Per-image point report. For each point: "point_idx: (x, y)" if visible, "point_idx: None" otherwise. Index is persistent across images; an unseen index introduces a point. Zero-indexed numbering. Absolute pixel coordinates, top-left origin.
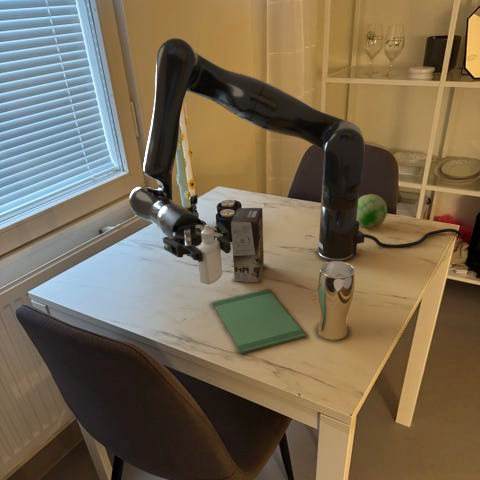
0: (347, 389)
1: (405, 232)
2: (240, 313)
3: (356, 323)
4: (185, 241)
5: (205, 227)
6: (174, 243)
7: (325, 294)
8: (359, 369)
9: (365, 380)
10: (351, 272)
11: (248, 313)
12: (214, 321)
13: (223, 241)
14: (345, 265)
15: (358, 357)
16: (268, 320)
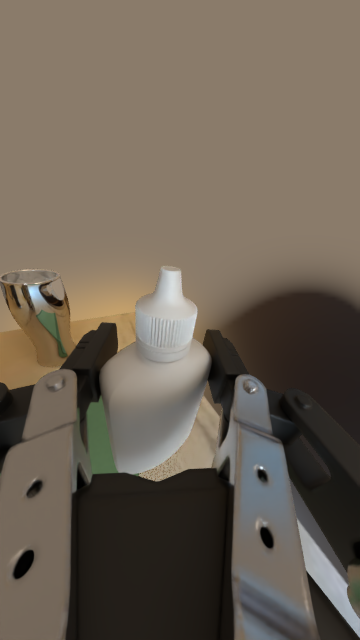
0: (125, 318)
1: None
2: (101, 461)
3: (24, 351)
4: (269, 424)
5: (179, 277)
6: (342, 441)
7: (67, 301)
8: (101, 322)
9: (109, 316)
10: (14, 282)
11: (91, 449)
12: (154, 478)
13: (106, 334)
14: (4, 279)
15: (87, 327)
16: (88, 408)
